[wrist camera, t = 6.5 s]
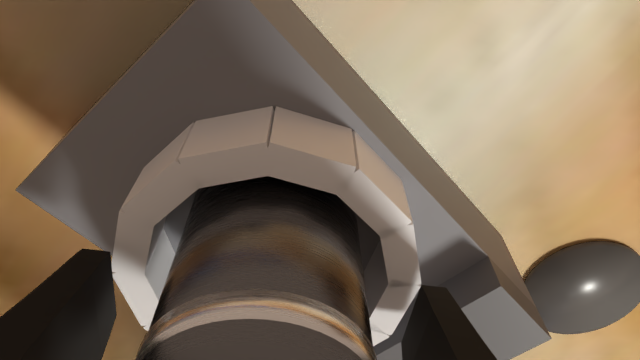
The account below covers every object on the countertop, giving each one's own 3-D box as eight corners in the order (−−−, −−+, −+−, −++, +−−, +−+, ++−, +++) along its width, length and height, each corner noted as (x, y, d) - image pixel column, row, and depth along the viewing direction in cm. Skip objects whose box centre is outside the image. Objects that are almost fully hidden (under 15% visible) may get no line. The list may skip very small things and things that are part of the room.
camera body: (501, 235, 19) (560, 356, 14) (336, 334, 21) (341, 460, 17) (244, -53, 13) (207, -8, 9) (70, 129, 16) (-24, 233, 12)
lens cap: (660, 285, 20) (668, 296, 20) (551, 338, 22) (557, 349, 22) (609, 213, 18) (617, 223, 18) (495, 277, 20) (499, 288, 20)
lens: (381, 170, 13) (428, 379, 8) (330, 294, 15) (340, 518, 10) (205, 128, 12) (126, 326, 7) (180, 264, 14) (107, 489, 9)
